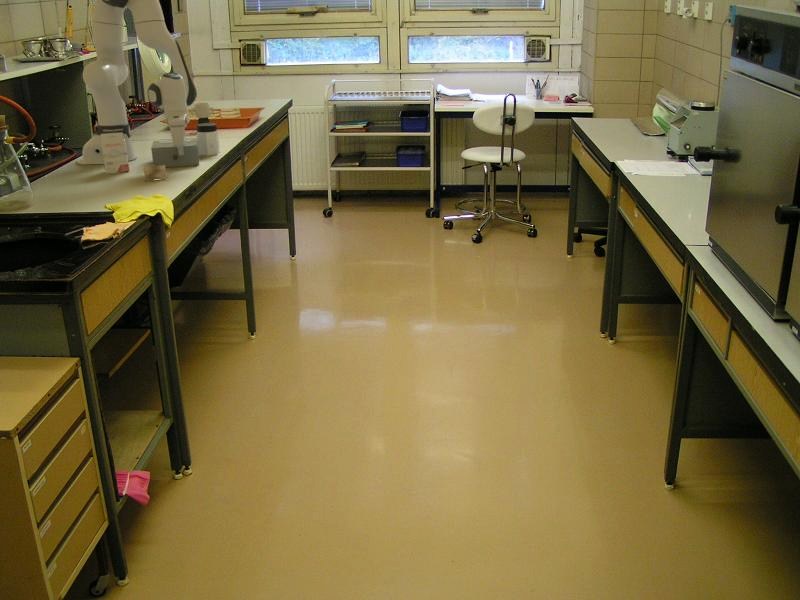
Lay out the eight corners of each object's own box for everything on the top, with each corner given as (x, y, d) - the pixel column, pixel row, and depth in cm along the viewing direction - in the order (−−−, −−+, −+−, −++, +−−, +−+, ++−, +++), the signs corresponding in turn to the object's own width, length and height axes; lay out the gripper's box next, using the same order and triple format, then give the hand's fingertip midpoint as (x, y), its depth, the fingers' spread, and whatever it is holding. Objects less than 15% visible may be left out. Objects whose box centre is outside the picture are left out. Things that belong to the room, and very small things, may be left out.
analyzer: (153, 167, 327) (151, 147, 324) (155, 159, 341) (153, 140, 339) (199, 164, 330) (197, 144, 327) (199, 157, 344) (197, 137, 342)
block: (145, 181, 304) (144, 170, 302) (146, 177, 310) (145, 166, 309) (165, 179, 305) (164, 168, 304) (166, 175, 312) (165, 165, 310)
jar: (202, 156, 345) (199, 126, 341) (195, 153, 352) (192, 124, 347) (223, 154, 350) (220, 124, 346) (216, 151, 356) (213, 122, 352)
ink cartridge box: (129, 169, 325) (124, 130, 320) (129, 171, 320) (123, 132, 315) (105, 171, 323) (100, 132, 318) (105, 173, 318) (99, 134, 313)
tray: (153, 168, 324) (151, 150, 322) (156, 159, 340) (154, 143, 338) (198, 165, 327) (196, 148, 325) (198, 157, 343) (197, 140, 341)
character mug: (217, 129, 410) (214, 102, 405) (214, 132, 403) (212, 104, 399) (194, 130, 410) (191, 102, 405) (191, 132, 403) (188, 104, 398)
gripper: (169, 114, 329) (174, 150, 334) (167, 122, 310) (171, 160, 315) (186, 113, 330) (190, 149, 335) (184, 121, 311) (189, 159, 316)
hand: (181, 154), depth 324 cm, fingers closed
